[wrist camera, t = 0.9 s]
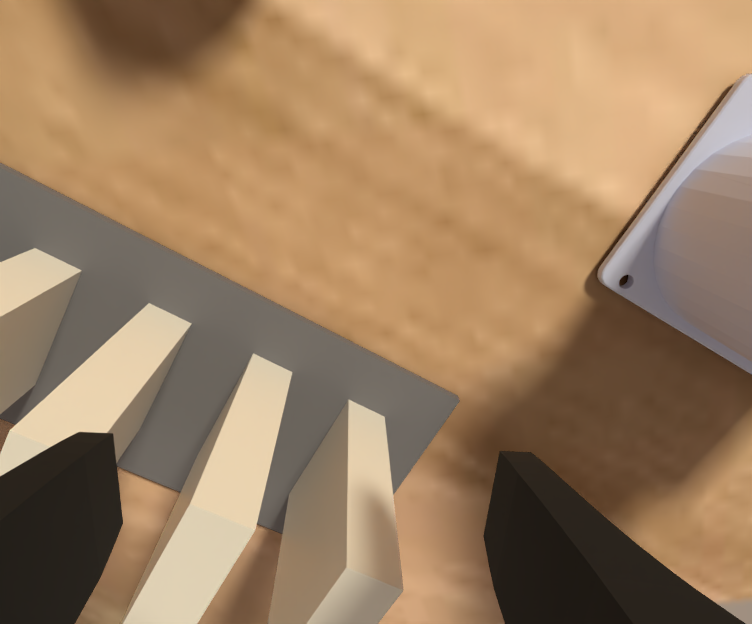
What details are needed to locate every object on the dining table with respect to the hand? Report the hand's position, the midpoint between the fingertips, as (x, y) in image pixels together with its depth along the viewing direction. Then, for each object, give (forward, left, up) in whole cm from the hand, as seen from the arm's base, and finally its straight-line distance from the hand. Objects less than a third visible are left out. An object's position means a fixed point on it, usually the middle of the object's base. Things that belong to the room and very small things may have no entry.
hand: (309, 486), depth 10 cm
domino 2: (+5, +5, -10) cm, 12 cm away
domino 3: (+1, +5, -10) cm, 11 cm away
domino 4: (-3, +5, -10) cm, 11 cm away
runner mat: (+5, +5, -10) cm, 12 cm away
